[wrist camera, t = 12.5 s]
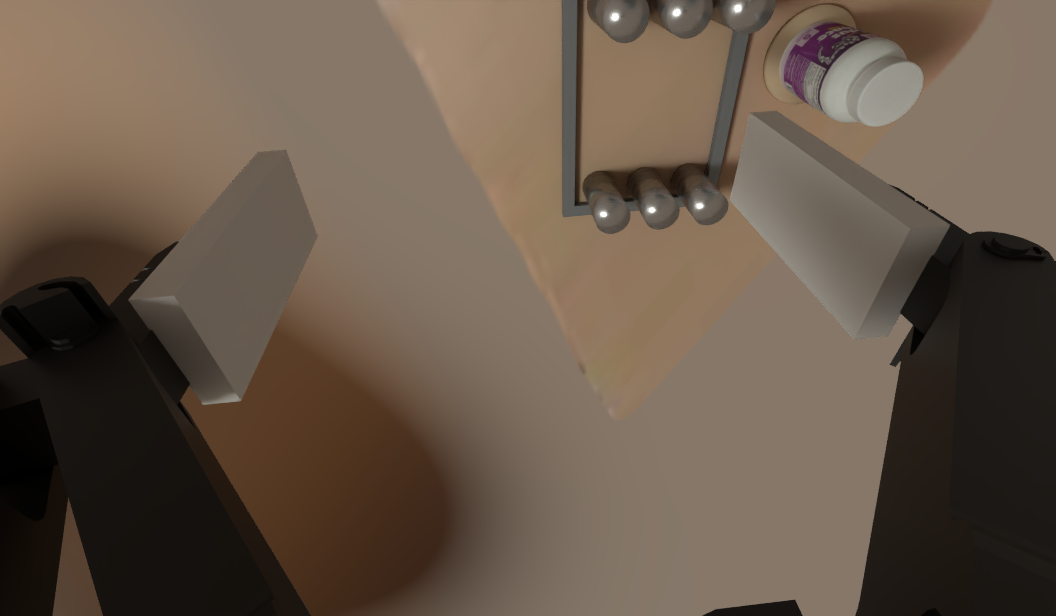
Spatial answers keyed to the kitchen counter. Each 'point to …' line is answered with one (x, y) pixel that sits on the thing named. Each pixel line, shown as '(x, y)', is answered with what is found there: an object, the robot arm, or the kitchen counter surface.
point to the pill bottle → (850, 74)
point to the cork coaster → (787, 34)
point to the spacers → (685, 11)
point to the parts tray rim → (569, 111)
